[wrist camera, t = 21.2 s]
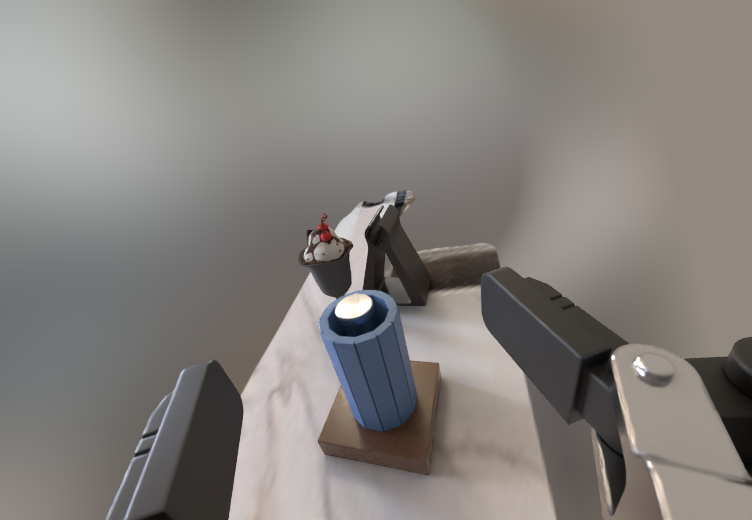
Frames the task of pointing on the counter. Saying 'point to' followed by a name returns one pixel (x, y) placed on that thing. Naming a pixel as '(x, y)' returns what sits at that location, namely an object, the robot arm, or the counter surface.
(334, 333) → the blue sleeve
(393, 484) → the counter surface
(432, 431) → the wooden base post
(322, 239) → the sundae
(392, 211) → the phone stand
